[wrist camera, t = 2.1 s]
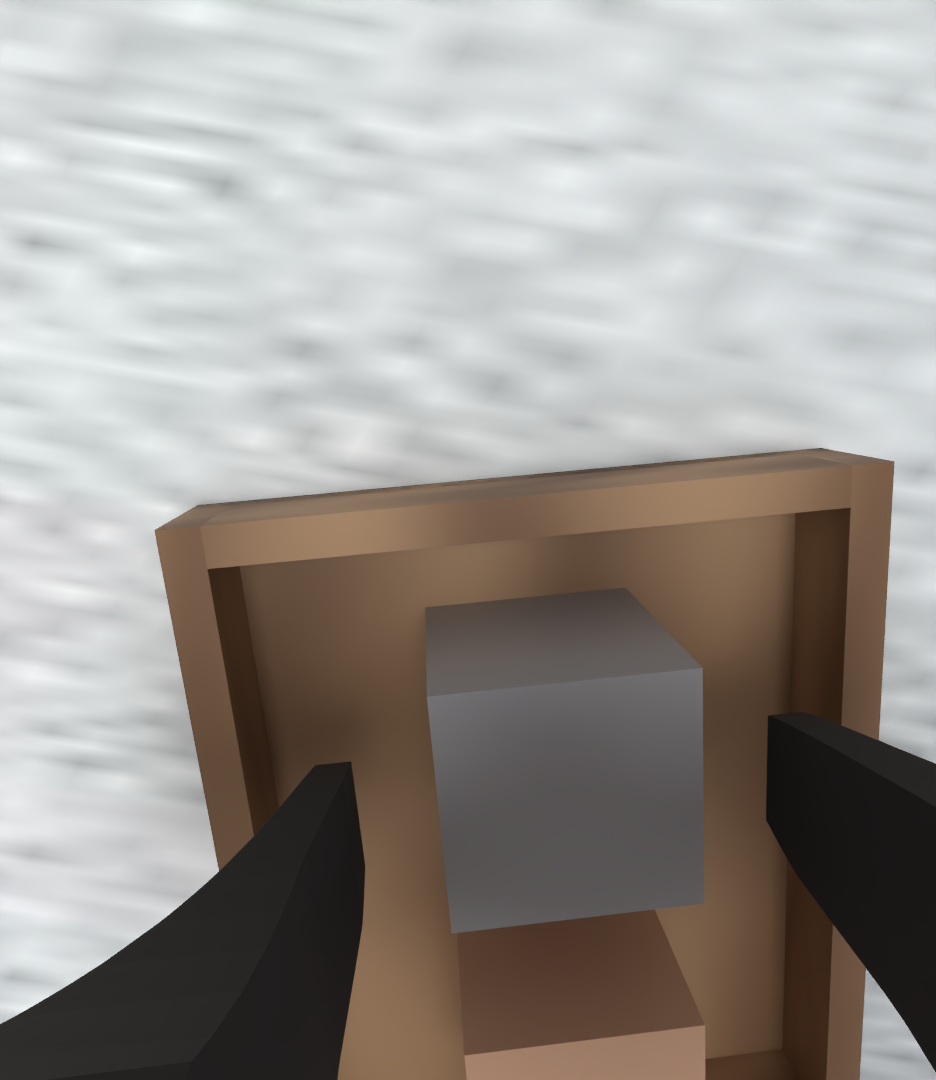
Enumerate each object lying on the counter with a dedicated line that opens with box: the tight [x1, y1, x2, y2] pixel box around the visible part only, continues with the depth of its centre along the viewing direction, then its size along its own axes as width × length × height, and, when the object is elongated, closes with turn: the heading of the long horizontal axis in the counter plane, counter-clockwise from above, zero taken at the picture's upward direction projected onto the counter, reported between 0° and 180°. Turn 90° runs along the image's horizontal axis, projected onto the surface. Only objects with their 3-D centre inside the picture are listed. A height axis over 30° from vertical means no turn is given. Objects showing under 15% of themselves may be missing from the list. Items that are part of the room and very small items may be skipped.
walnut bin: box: [155, 448, 894, 1080], centre depth 16 cm, size 14×17×2 cm
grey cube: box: [426, 588, 704, 933], centre depth 14 cm, size 4×4×4 cm
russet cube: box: [457, 909, 705, 1080], centre depth 15 cm, size 4×4×4 cm
